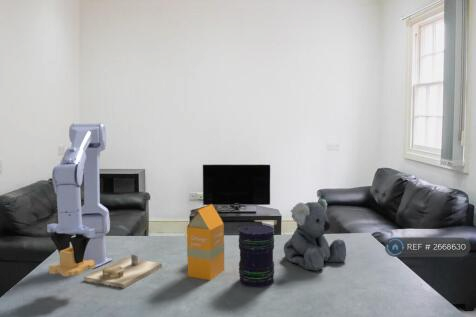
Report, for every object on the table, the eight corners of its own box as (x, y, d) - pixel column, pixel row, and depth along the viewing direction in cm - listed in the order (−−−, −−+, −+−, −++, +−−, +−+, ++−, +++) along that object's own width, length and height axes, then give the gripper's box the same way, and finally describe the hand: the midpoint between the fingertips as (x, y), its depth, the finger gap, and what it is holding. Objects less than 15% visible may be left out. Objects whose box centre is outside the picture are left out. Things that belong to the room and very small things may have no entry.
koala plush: (315, 274, 131) (315, 208, 129) (270, 259, 145) (270, 199, 142) (350, 261, 142) (351, 200, 140) (306, 248, 156) (306, 192, 154)
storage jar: (278, 276, 129) (278, 225, 128) (269, 289, 120) (269, 235, 119) (245, 273, 133) (244, 223, 131) (234, 285, 123) (233, 232, 122)
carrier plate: (84, 280, 128) (83, 266, 127) (124, 261, 144) (124, 248, 144) (123, 288, 122) (123, 273, 122) (161, 267, 138) (161, 253, 138)
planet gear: (43, 272, 116) (42, 253, 115) (72, 260, 125) (71, 242, 124) (72, 277, 112) (71, 258, 111) (100, 264, 121) (99, 246, 120)
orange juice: (224, 270, 135) (224, 204, 133) (210, 280, 127) (209, 210, 125) (202, 266, 139) (200, 202, 137) (187, 276, 131) (185, 208, 129)
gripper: (36, 211, 116) (39, 262, 117) (79, 216, 110) (82, 270, 111) (57, 205, 122) (60, 254, 124) (99, 210, 116) (102, 261, 118)
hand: (72, 261), depth 118 cm, fingers closed on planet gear, 4 cm apart
